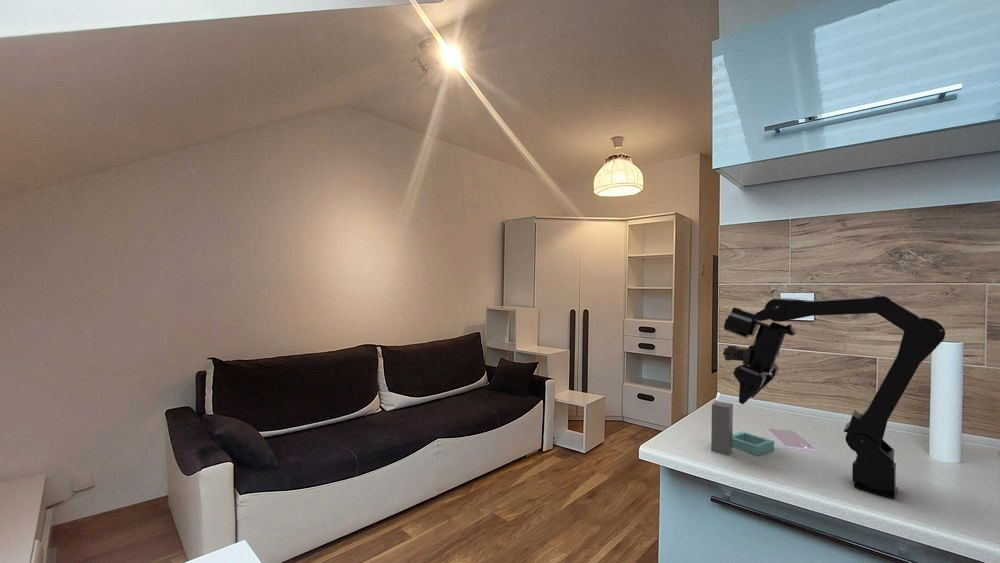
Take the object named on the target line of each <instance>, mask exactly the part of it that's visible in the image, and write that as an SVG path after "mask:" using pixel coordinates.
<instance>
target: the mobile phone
mask: <svg viewBox="0 0 1000 563" xmlns="http://www.w3.org/2000/svg"><path fill="white" fill-rule="evenodd" d="M766 431H767V432H768V433H769V435H771V436H772V437H773V438H774V439H775V440H776V441H777V442H778V443H779V444H781V446H783V447H784V448H786V449H788V450H789V449H790V450H799V451H807V452H809V451H811V452H817V449H816V448H815V447H814V446H813V445H812V444H810V443H809V442H808V441H806V440H805V439H804V438H803V437H802V436H800V435H799V434H798V433H796V431H793V430H788V429H787V430H785V429H779V428H778V429H776V428H775V429H774V428H767V429H766Z"/></svg>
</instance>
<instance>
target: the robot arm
mask: <svg viewBox="0 0 1000 563" xmlns="http://www.w3.org/2000/svg"><path fill="white" fill-rule="evenodd" d="M858 314H859V315H862V314H863V315H864V314H877V315H878V316H880V317H882V318H883V319H885V320H887V322H889V323H890V324H892V325H894V326H895V327H897V328H899V329H900V330H901V331H903V332H902V335H901V341H900V343H899V348H898V351H897V354H896V357H895V358H894V360H893V361H892V363H891V366H890V367H889V369H888V371H887V372H886V374H885V377H884V378H883V380H882V381H881V384H880V386H879V387H878V389H877V391H876V392H875V394H874V396H873V398H872V399H871V401H870V403H869V405H868V407H867V408H866V409H865V410H864V411H863V412H862V413H861V412H858V411H857V410H854V411H853V413H852V415H851V418H850V421H849V422H847V423H846V424H845V427H844V429H843V433H846V435H845V442H846V444H847V446H848V447H849V449H851V450H852V451H853V452H855V454H856V457H855V460H854V461H853V462H852V471H851V472H852V476H851V478H852V482H853V483H854V484H853V487H854V488H856V489H859V490H863V491H865V492H869V493H873V494H876V495H880V496H883V497H886V498H890V499H896V495H897V492H898V487H897V484H896V483H897V462H895V449H894V448H893V447H892V446H890V444H888V442H886V441H885V440H884V436H885V432H886V428H887V424H888V421H889V419H890V417H891V415H892V414H893V411H894V410H895V408H896V406H897V404H898V403H899V401H900V399H901V397H903V394H904V392H905V391H906V389H907V387H908V386H909V384H910V382H911V380H912V378H913V377H914V374H915V373H916V371H917V369H918V368H919V366H920V365H921V364H922V363H923V362H924V360H926V359H927V358H928V357H929V355H930V354H932V353H933V351H935V350H936V349H937V347H939V345H940V344H941V343H943V341H944V340H945V337H946V330H945V328H944V327H943V325H942V324H941V323H939V322H938V321H937V320H935V319H933V318H931V317H927V316H918V315H917V314H915V313H913V311H910V310H908V309H906V308H905V307H904V306H902V305H899V304H898V303H896V302H894V301H893V300H892V299H891V298H890V297H888V296H886V295H880V294H879V295H874V296H868V297H867V296H864V297H852V298H851V297H850V298H849V297H848V298H835V299H817V300H808V299H807V300H806V299H797V298H796V299H795V298H785V297H781V298H780V297H779V298H773V299H770V300H769V301H768V302H766V303H765V306H764V308H762V310H759V311H756V312H755V313H752V312H750V311H746V310H743V308H742V309H741V308H739V307H737V306H735V307H733V308H732V310H731V311H730V312H729V315H728V316H727V318H726V319H725V321H724V324H723V330H724V331H725V332H728V333H732V334H734V335H736V336H740V337H743V338H746V339H748V338H749V337H750V336H751V337H754V336H755V335H756V336H755V337H754V338H755V339H754V341H753V343H752V344H751V345H749V346H748V347H739V346H738V347H737V346H736V345H734V346H733V345H728V346H727V347H725V348H723V350H724V351H723V352H722V355H723V356H724V361H728V362H730V361H737V362H738V361H739V362H742V364H741V365H738V366H736V367H735V368H734V370H733V373H732V374H733V375H734V378H735V379H736V380H737V381H738V383H739V391H738V392H739V393H738V403H739V404H741V405H745V403H746V402H747V401H749V400H750V399H751V398H754V397H755V396H756V395H757V394H758V393H760V391H761V390H762V389H764V388H765V387H766V386H767V385H768V384H769V383H770V382H771V381H772V380H774V379H775V377H776V376H777V375H778V373H779V371H780V370H779V368H780V367H779V366H778V364H777V363H775V362H776V361H777V358H778V357H779V356H780V354H781V352H780V350H781V347H782V345H783V343H784V340H785V337H786V335H788V336H791V337H792V336H796V335H797V331H796V330H795V329H794V328H793V324H791V323H790V324H787V325H784V324H780V323H781V322H786V321H791V320H797V319H798V320H799V319H802V318H807V317H815V316H817V317H818V316H836V315H837V316H838V315H839V316H840V315H858ZM767 320H768V321H769V320H771V321H772V322H771V323H766V322H763V321H767ZM778 322H779V323H778ZM770 373H771V374H770Z"/></svg>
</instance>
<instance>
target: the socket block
mask: <svg viewBox="0 0 1000 563" xmlns="http://www.w3.org/2000/svg"><path fill="white" fill-rule="evenodd" d="M732 448H736V449H738V450H741V451H744V452H747V453H749V454H753V455H756V456H760V455H763V454H765V453H768V452H770V451H772V450H774V449H775V440H772V439H769V438H765V437H763V436H758V435H756V434H753V433H750V432H746V431H744V430H743V431H742V430H741V431H739V432H736V433H733V439H732Z"/></svg>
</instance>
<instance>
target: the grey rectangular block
mask: <svg viewBox="0 0 1000 563" xmlns="http://www.w3.org/2000/svg"><path fill="white" fill-rule="evenodd" d="M733 420H734V404H733V403H730V402H722V401H717V400H714V402H713V403H712V404H711V438H710V440H711V441H710V442H711V443H710V444H711V449H710V450H711V452H712V451H713V453H717V454H720V455H721V454H722V455H724V456H725V455H726V456H728V457H729V456H730V455H731V453H732V452H733V447H732V439H733V434H734V431H733V422H734V421H733Z"/></svg>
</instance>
